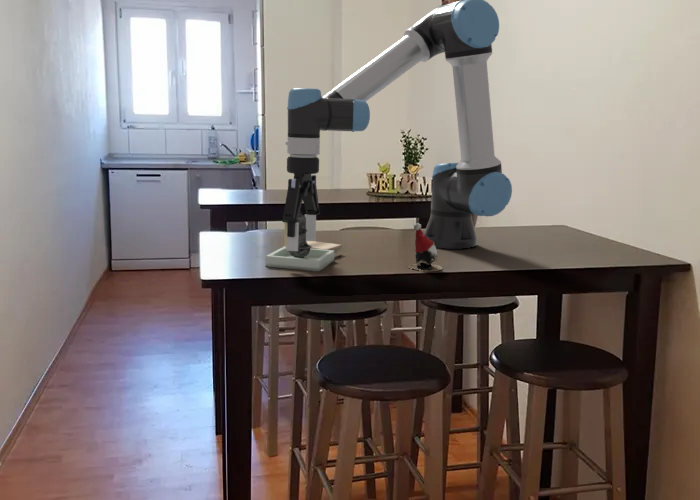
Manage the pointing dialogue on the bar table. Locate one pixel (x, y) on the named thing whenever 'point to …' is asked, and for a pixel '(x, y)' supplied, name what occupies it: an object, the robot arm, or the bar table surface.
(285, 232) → the block
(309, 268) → the tray
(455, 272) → the bar table surface
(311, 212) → the robot arm
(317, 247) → the beige rectangular block
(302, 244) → the salt shaker
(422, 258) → the figurine
